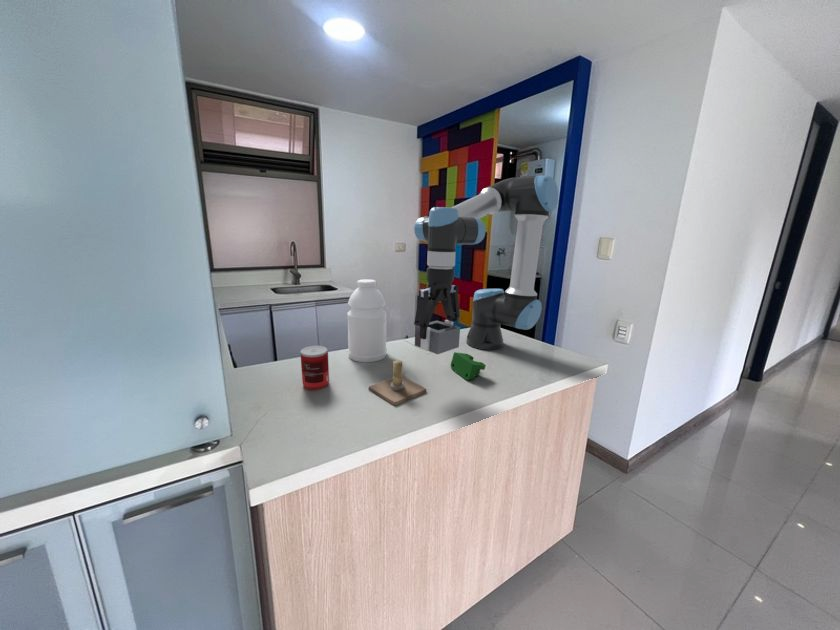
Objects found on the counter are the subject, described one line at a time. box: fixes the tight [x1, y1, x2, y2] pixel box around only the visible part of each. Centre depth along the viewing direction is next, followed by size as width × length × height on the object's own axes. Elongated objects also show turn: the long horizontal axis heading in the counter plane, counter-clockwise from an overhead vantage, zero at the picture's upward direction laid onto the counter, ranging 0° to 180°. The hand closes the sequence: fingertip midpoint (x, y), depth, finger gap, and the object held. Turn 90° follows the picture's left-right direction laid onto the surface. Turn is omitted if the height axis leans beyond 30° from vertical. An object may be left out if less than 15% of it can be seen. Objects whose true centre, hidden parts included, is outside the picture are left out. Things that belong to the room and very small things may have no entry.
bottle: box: [346, 278, 387, 363], centre depth 120 cm, size 14×14×28 cm
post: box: [368, 360, 427, 406], centre depth 97 cm, size 12×12×9 cm
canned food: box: [300, 345, 330, 391], centre depth 99 cm, size 8×8×11 cm
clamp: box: [450, 351, 487, 381], centre depth 111 cm, size 12×6×9 cm, turn 20°
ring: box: [414, 320, 461, 355], centre depth 96 cm, size 9×9×6 cm
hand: (436, 345), depth 96 cm, fingers closed on ring, 9 cm apart
